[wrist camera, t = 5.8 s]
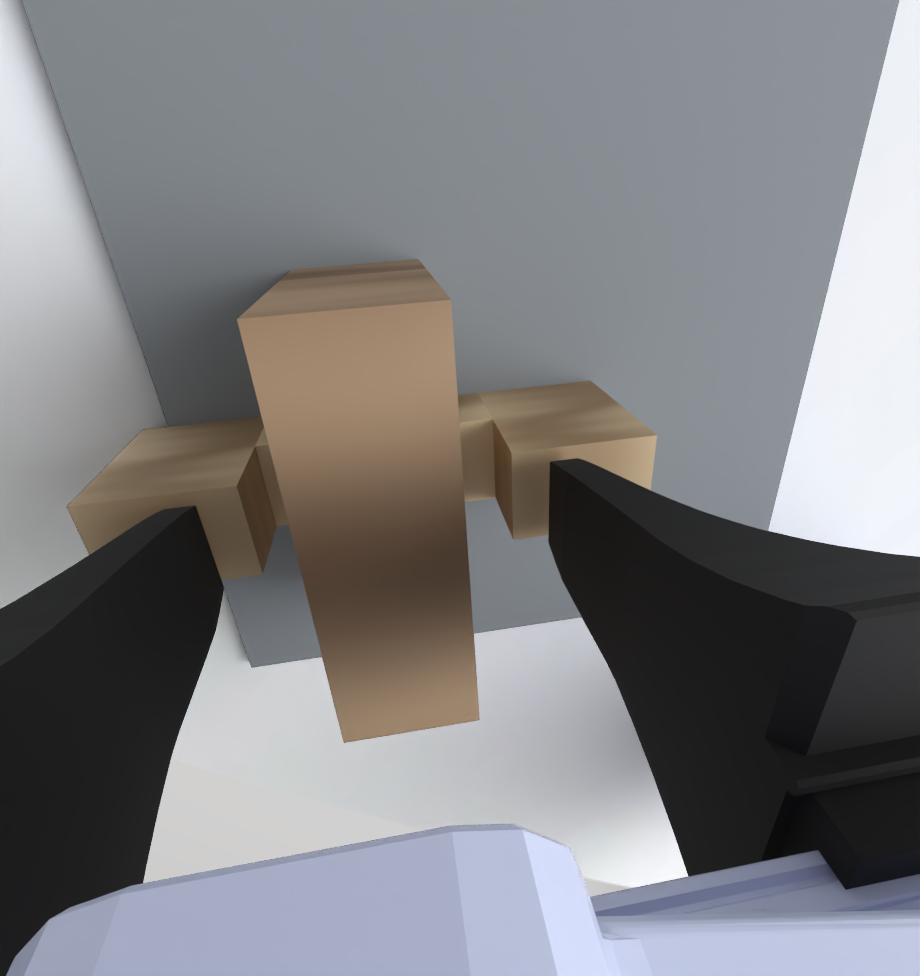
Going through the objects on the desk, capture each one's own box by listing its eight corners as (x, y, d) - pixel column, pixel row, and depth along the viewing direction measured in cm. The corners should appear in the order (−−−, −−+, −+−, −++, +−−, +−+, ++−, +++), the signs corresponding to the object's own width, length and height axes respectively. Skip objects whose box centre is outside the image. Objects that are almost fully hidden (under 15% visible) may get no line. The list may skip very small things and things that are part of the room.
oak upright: (590, 380, 15) (656, 435, 12) (587, 452, 16) (646, 521, 13) (142, 429, 14) (66, 506, 10) (169, 503, 15) (108, 595, 12)
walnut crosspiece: (446, 562, 17) (479, 720, 12) (351, 575, 17) (343, 742, 12) (418, 259, 13) (450, 299, 8) (291, 269, 13) (236, 319, 8)
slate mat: (746, 583, 20) (753, 590, 20) (253, 658, 19) (251, 667, 18) (976, -382, 10) (999, -404, 9) (-112, -419, 8) (-133, -448, 8)
